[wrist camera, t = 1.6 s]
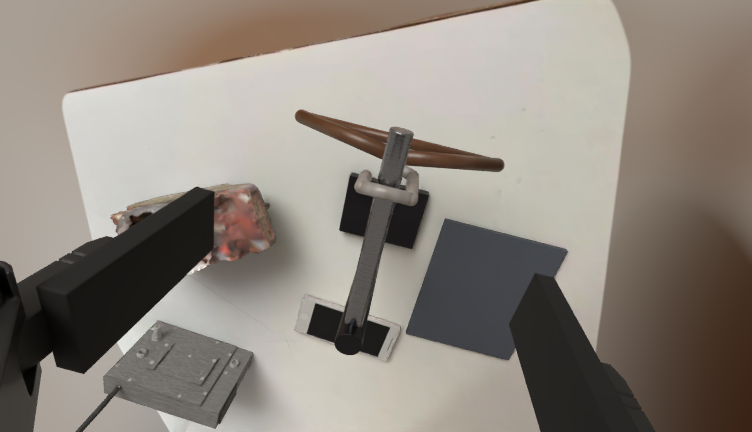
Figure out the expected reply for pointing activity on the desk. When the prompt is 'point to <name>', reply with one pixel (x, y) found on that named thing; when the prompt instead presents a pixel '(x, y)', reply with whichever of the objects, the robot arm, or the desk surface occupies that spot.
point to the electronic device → (178, 375)
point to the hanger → (422, 156)
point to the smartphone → (326, 318)
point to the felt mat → (478, 287)
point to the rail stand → (376, 235)
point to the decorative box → (218, 221)
